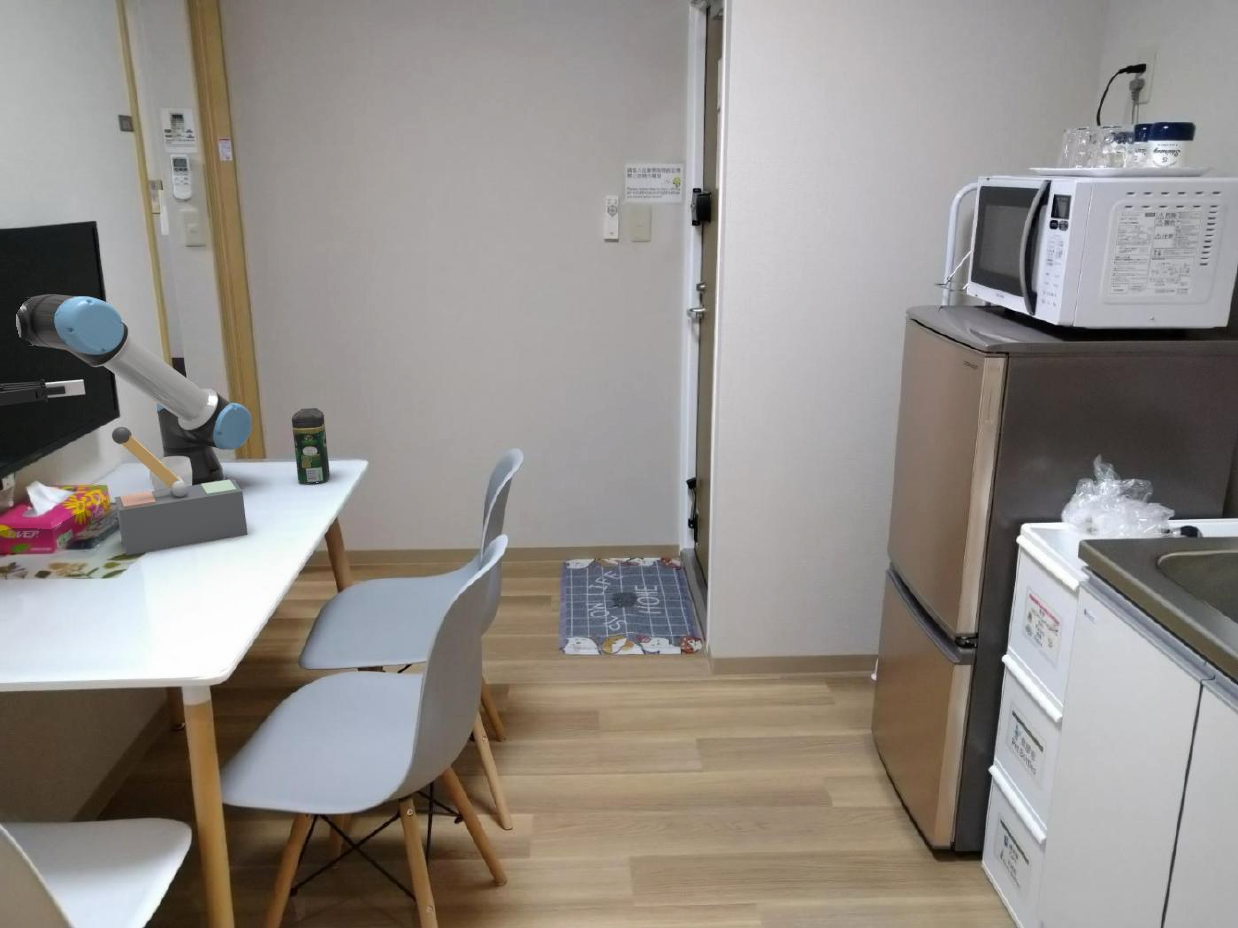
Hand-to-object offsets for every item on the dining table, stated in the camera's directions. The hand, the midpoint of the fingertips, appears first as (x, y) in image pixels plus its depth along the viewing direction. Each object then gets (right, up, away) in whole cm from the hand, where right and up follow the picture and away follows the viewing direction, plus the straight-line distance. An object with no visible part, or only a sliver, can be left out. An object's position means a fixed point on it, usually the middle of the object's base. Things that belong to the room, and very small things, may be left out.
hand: (84, 386), depth 189 cm
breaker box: (+12, -32, +17) cm, 38 cm away
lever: (+13, -21, +15) cm, 29 cm away
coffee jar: (+27, -20, +58) cm, 67 cm away
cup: (+2, -26, +35) cm, 44 cm away
